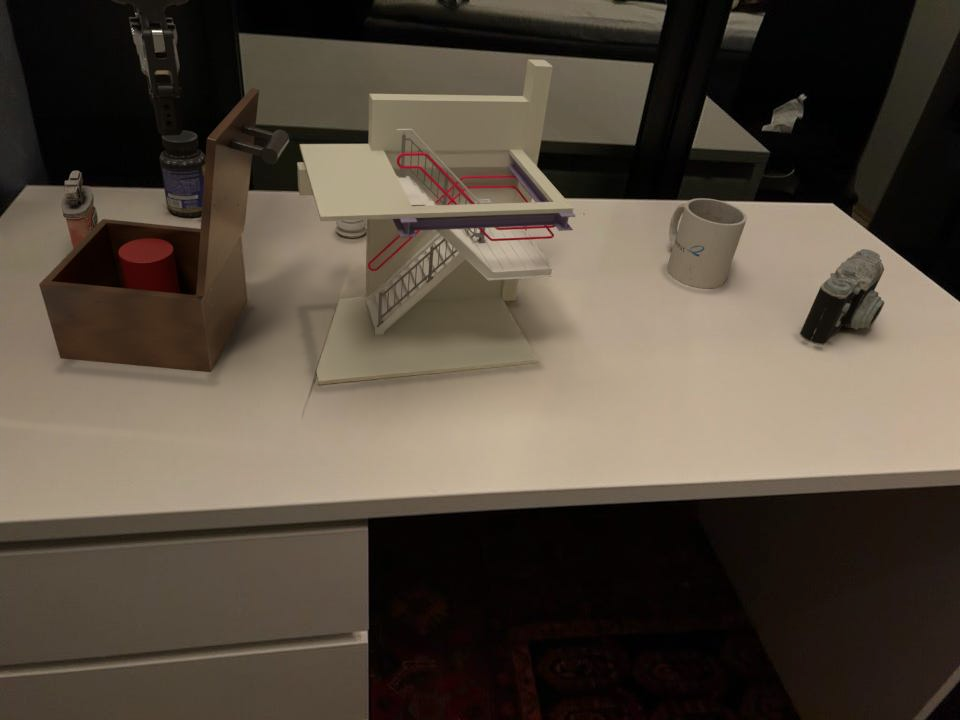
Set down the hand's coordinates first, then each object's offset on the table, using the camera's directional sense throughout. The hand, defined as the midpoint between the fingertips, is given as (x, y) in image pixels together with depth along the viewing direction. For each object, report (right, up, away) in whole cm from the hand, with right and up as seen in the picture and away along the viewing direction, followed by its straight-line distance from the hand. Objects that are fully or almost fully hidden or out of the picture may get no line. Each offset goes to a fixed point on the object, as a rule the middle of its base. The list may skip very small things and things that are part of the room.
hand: (166, 119), depth 77 cm
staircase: (+26, -23, +12) cm, 37 cm away
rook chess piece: (+14, -6, +32) cm, 35 cm away
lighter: (-18, -11, +19) cm, 29 cm away
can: (-5, -19, +9) cm, 22 cm away
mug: (+64, -11, +34) cm, 74 cm away
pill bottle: (-10, -3, +32) cm, 34 cm away
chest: (-4, -22, +7) cm, 23 cm away
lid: (+7, -8, -3) cm, 11 cm away
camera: (+82, -21, +25) cm, 88 cm away
